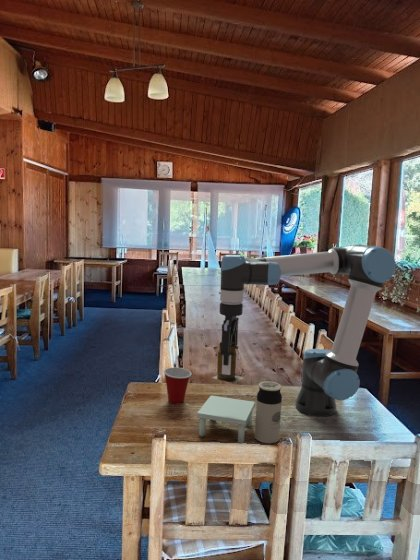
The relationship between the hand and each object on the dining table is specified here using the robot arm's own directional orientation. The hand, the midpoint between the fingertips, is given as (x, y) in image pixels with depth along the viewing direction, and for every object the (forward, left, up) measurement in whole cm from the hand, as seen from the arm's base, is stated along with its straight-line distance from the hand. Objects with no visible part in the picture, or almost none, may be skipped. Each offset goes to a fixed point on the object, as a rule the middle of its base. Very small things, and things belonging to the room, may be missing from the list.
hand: (228, 370), depth 149 cm
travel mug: (-14, +1, -21) cm, 25 cm away
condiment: (0, 0, -3) cm, 3 cm away
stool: (0, 0, -21) cm, 21 cm away
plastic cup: (+24, -17, -21) cm, 36 cm away
